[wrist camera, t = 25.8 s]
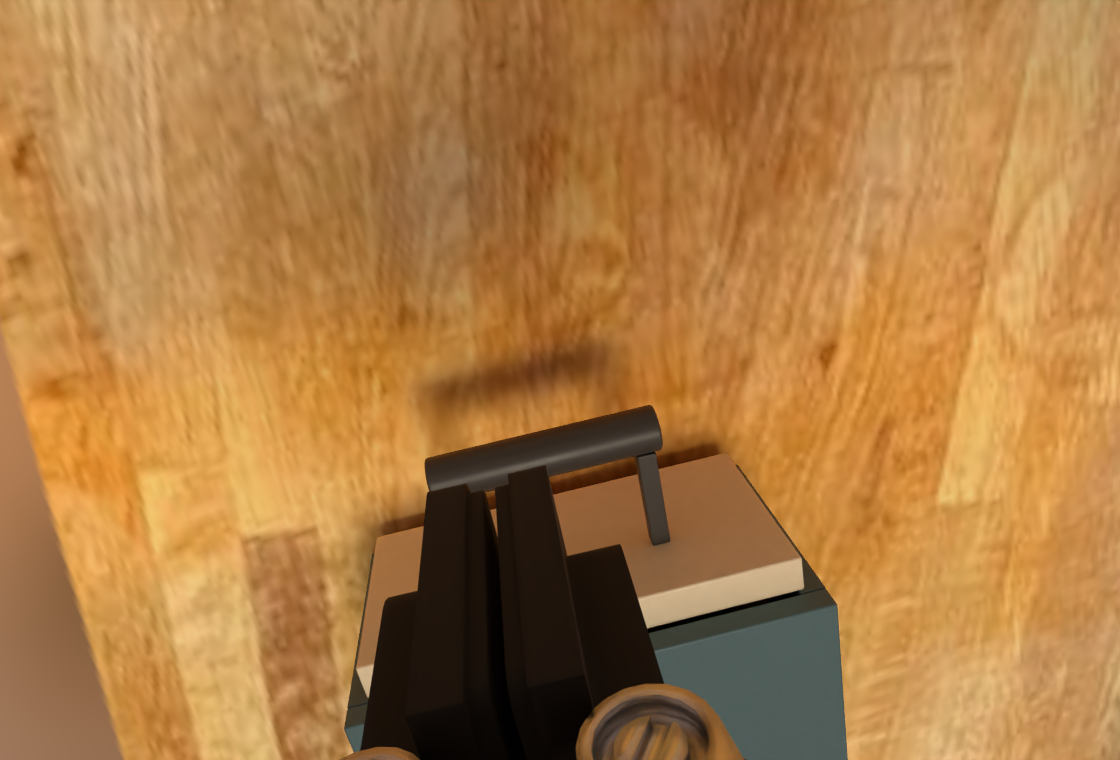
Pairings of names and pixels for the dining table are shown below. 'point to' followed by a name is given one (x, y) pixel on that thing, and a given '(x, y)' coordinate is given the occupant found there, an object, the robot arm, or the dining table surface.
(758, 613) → the cabinet
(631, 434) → the drawer
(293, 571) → the dining table surface
